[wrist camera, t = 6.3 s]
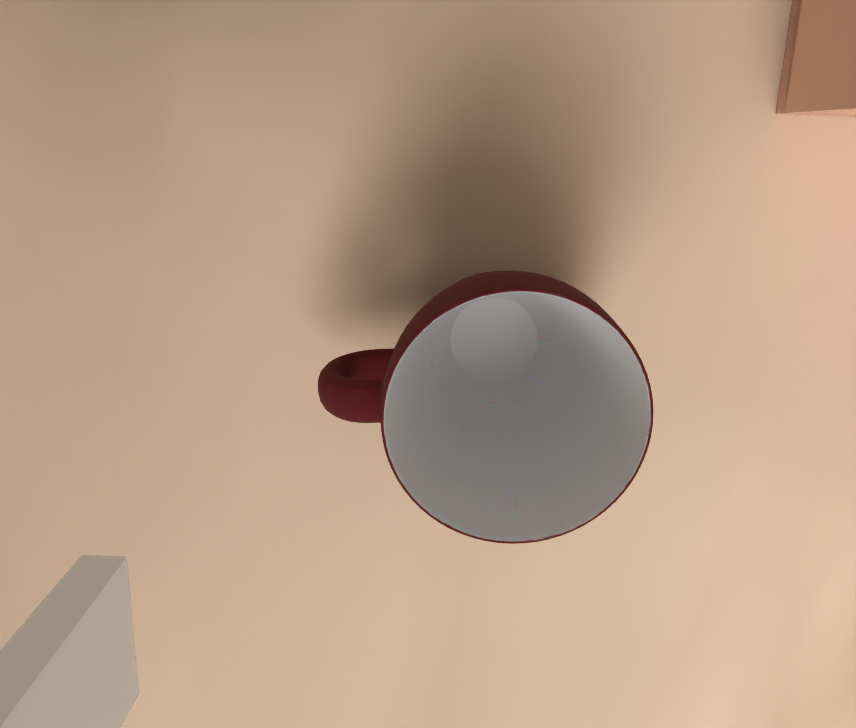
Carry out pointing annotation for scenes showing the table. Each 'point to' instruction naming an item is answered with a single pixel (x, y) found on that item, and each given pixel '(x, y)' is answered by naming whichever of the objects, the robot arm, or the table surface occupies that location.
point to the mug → (504, 406)
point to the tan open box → (820, 59)
